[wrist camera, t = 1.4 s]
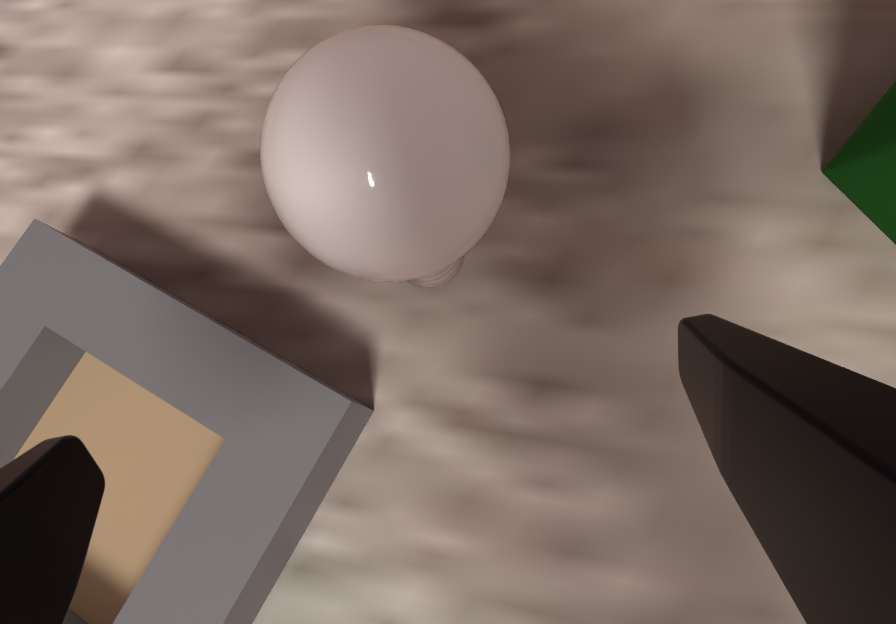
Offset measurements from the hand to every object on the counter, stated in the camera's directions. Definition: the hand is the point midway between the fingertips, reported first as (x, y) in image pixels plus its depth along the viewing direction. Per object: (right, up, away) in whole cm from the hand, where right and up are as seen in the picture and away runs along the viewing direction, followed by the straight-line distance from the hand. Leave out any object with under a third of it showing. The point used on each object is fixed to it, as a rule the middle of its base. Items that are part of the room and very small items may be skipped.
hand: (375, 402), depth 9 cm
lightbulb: (0, +3, +15) cm, 15 cm away
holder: (-11, -5, +14) cm, 18 cm away
